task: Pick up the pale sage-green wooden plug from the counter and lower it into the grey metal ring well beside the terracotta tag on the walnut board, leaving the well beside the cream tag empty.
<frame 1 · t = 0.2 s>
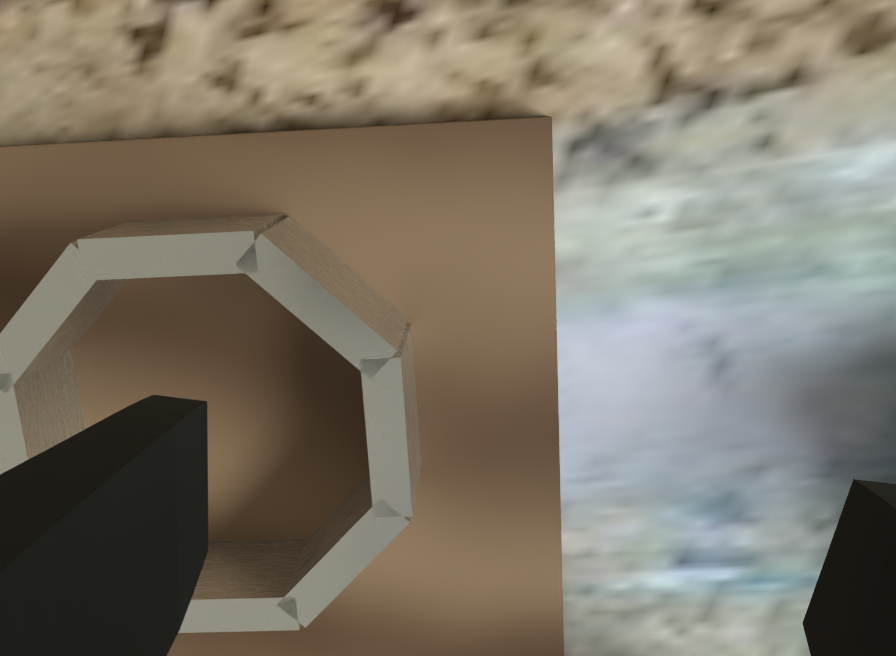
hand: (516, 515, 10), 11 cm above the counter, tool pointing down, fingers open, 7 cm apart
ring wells: (212, 608, 22), resting on walnut board
walnut board: (212, 608, 22), on the counter
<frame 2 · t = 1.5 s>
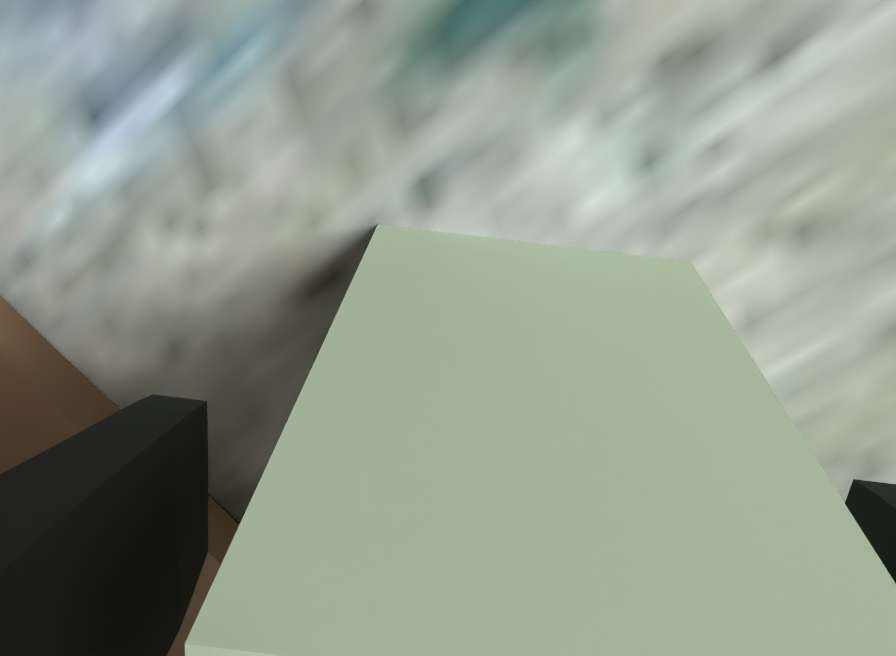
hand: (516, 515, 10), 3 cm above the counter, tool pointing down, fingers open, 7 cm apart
sage plug: (512, 382, 13), on the counter
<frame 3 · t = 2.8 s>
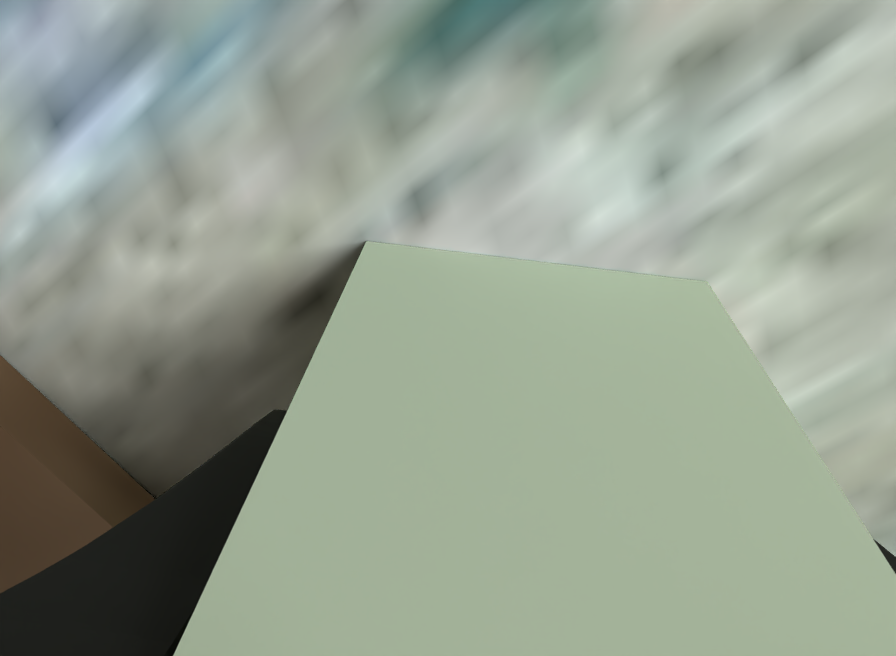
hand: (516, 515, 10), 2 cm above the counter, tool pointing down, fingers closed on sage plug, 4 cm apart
sage plug: (513, 410, 12), on the counter, touching gripper
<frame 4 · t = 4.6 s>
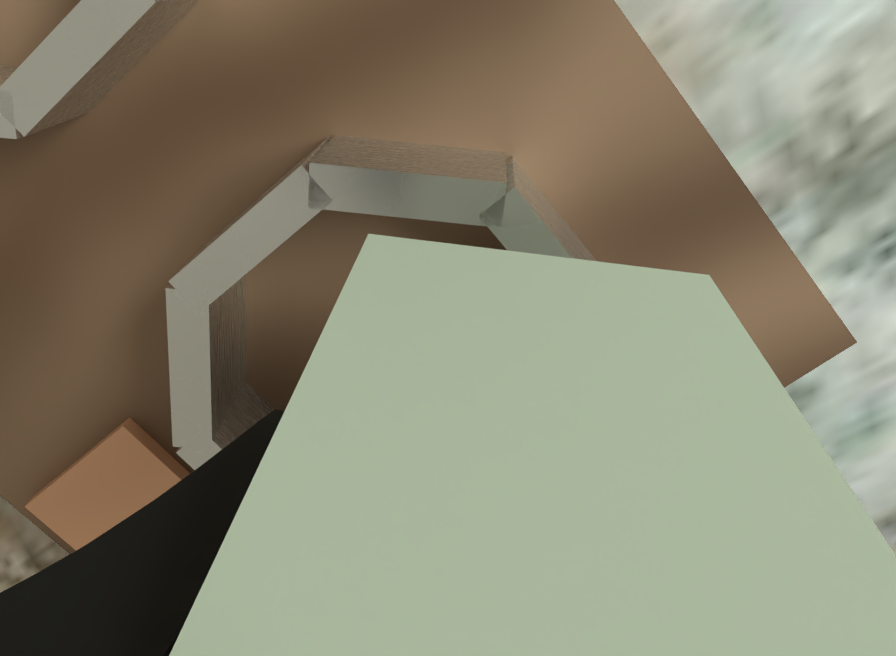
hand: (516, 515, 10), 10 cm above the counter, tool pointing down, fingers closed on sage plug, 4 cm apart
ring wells: (174, 161, 18), resting on walnut board
sage plug: (514, 404, 12), point 7 cm above the counter, touching gripper
tags: (174, 161, 18), resting on walnut board
walnut board: (174, 161, 18), on the counter
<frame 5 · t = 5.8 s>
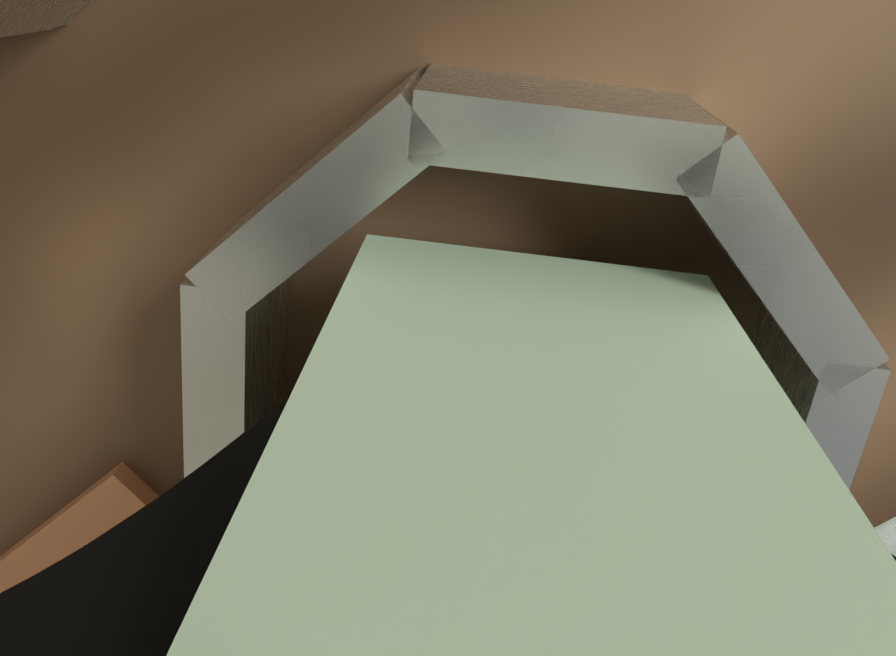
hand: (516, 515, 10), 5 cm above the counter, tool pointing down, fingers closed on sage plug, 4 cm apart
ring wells: (191, 104, 13), resting on walnut board
sage plug: (513, 404, 12), point 2 cm above the counter, touching gripper
tags: (191, 104, 13), resting on walnut board
walnut board: (191, 104, 13), on the counter
when the fingers open (5 cm above the counter, at t = 6.6 s): sage plug drops 1 cm, resting on walnut board.
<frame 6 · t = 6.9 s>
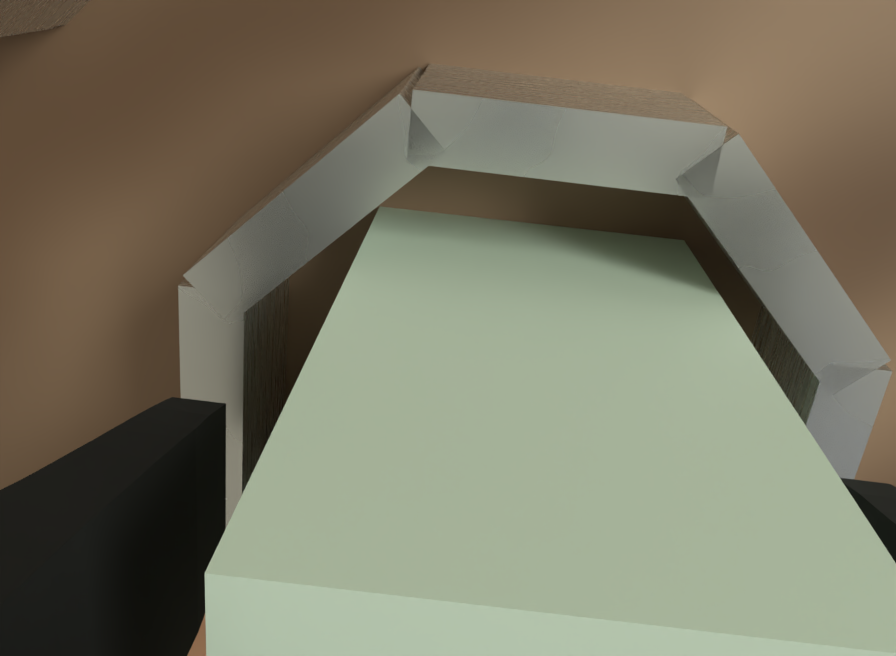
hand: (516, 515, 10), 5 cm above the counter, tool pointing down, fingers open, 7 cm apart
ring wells: (190, 104, 13), resting on walnut board
sage plug: (511, 360, 13), point 1 cm above the counter, touching walnut board
tags: (190, 104, 13), resting on walnut board
walnut board: (190, 104, 13), on the counter
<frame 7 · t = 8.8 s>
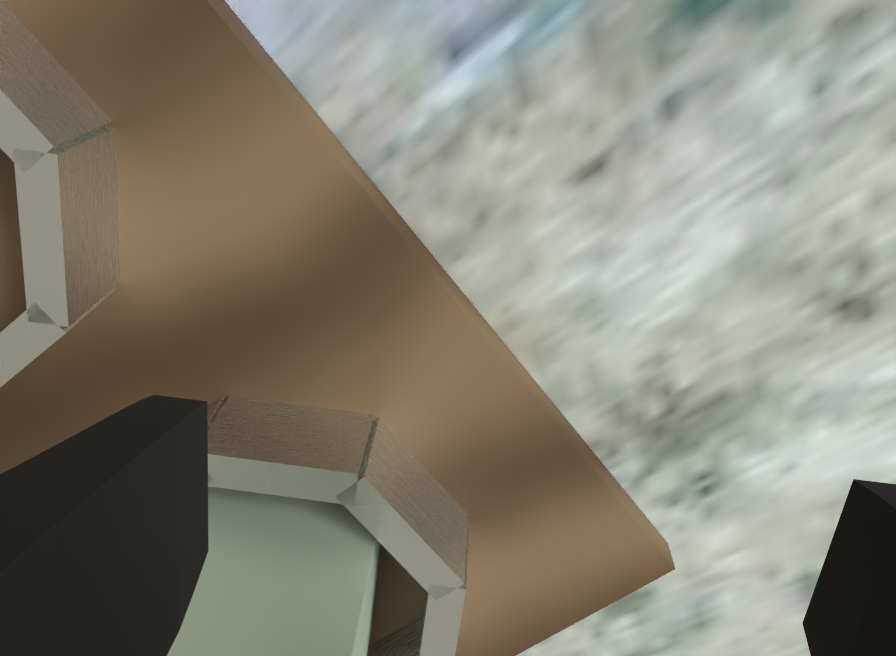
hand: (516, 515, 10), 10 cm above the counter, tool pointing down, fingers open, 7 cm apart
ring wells: (96, 396, 21), resting on walnut board
sage plug: (292, 550, 22), point 1 cm above the counter, touching walnut board
walnut board: (96, 396, 21), on the counter
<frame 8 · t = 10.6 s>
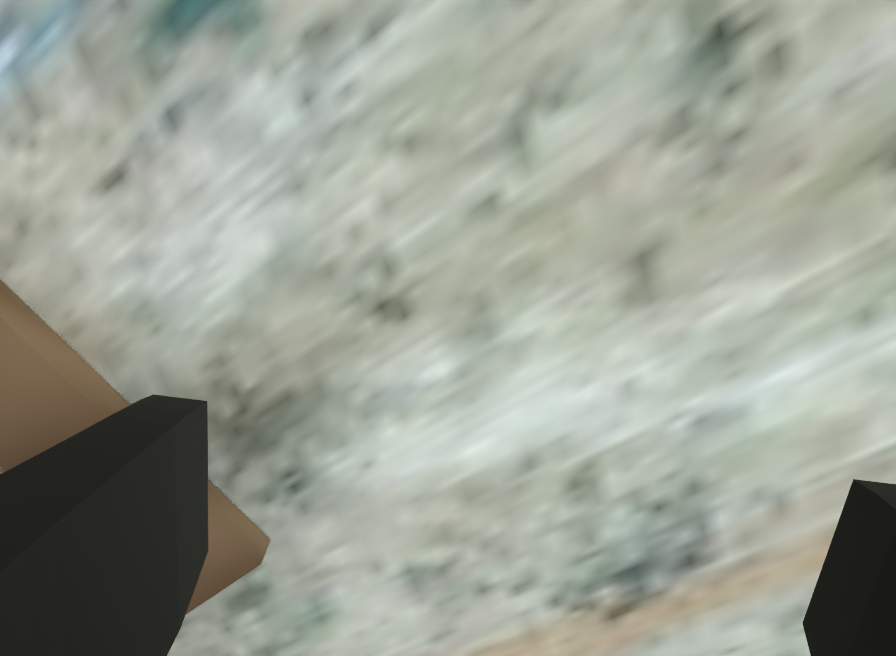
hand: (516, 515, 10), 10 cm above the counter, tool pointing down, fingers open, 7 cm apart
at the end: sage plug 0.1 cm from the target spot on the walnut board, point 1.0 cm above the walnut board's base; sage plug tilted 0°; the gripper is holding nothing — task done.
